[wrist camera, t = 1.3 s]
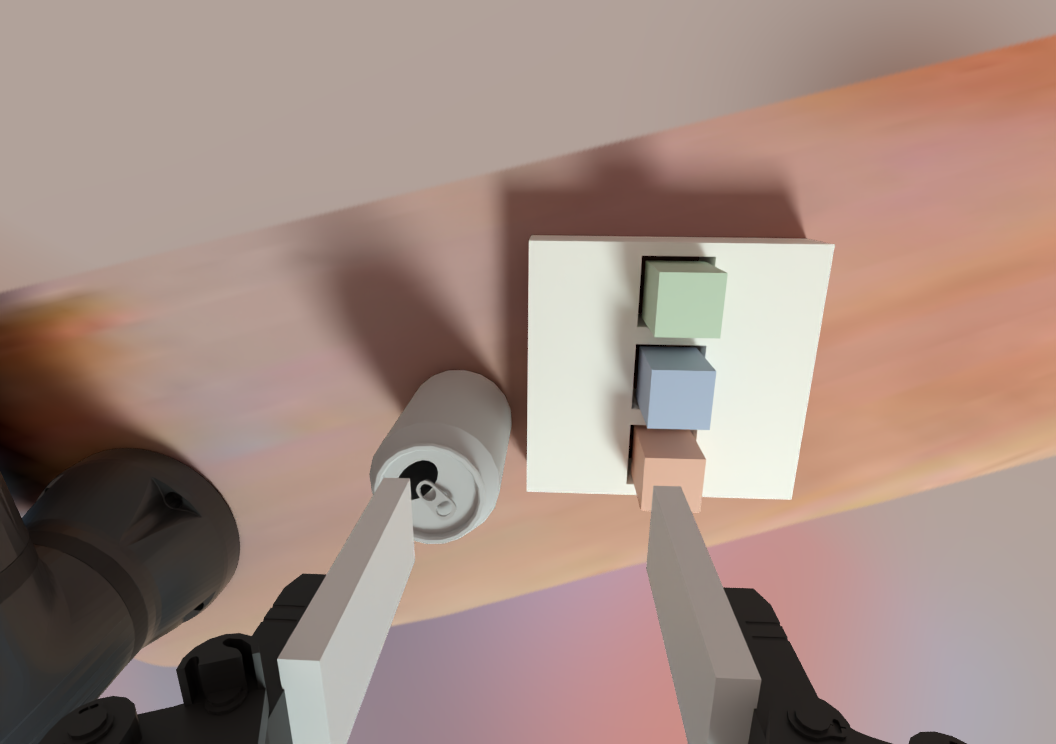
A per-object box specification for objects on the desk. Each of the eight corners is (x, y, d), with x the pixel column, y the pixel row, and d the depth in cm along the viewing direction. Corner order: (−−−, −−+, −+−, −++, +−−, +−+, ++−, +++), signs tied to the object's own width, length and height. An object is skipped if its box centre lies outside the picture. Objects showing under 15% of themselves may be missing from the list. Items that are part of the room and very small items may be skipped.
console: (529, 464, 44) (526, 491, 40) (531, 234, 38) (528, 240, 34) (770, 471, 43) (791, 499, 39) (806, 238, 38) (835, 244, 34)
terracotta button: (630, 472, 40) (640, 510, 35) (634, 424, 39) (644, 457, 34) (682, 473, 40) (700, 512, 35) (687, 425, 39) (706, 459, 34)
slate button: (636, 398, 38) (647, 428, 34) (639, 346, 37) (651, 369, 32) (690, 399, 38) (709, 430, 33) (695, 347, 37) (716, 371, 32)
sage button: (641, 317, 37) (654, 337, 32) (645, 260, 36) (659, 272, 31) (698, 318, 36) (720, 338, 32) (704, 261, 35) (727, 273, 31)
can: (456, 345, 41) (418, 406, 30) (533, 412, 42) (525, 496, 31) (391, 415, 43) (332, 499, 31) (467, 478, 44) (437, 579, 33)
